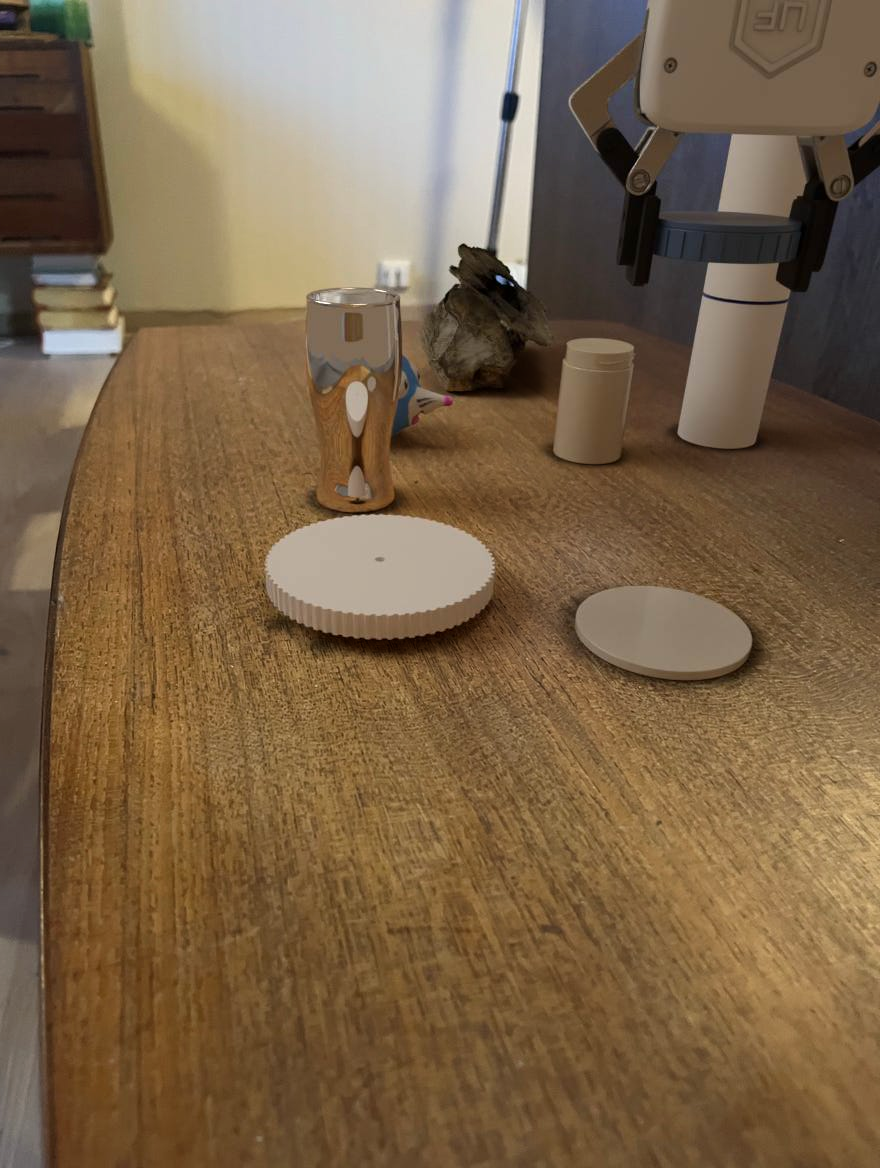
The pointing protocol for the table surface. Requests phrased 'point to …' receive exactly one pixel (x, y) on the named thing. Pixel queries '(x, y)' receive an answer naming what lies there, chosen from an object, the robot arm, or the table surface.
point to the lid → (727, 237)
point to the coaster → (663, 632)
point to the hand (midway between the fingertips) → (713, 282)
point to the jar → (593, 400)
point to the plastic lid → (379, 576)
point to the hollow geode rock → (481, 324)
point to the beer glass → (354, 392)
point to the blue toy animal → (414, 399)
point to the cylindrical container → (741, 303)
